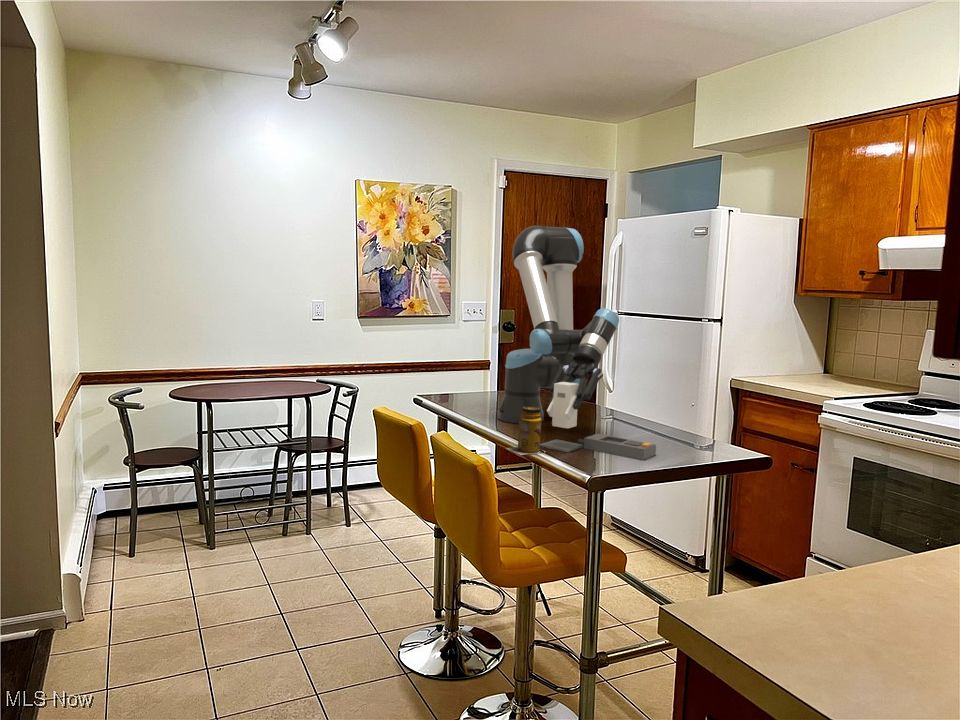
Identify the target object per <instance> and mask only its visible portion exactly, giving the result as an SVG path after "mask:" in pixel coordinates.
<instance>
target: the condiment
mask: <svg viewBox="0 0 960 720" xmlns="http://www.w3.org/2000/svg"><path fill="white" fill-rule="evenodd" d="M541 433H542V422H541V418H540V408H537V407H530V406H528V407H522V409H521V417H520V418H519V424H518V435H517V436H518V438H517V439H518V440H517V446H515V447H506V448H505V449H506V450H508V451H509V452H512V453H514V454H517V455H520V456H524V455H525V456H526V455H532V454H533V455H534V454H539V453H538V452H539V450H541V449H540V448H541V447H540V444H541ZM543 451H544V453H546V451H545V450H543Z"/></svg>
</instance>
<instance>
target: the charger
mask: <svg viewBox="0 0 960 720" xmlns="http://www.w3.org/2000/svg"><path fill="white" fill-rule="evenodd" d="M578 387H579V384H576V383H569V382H559V383H554V397H553V417H551V418H552V421H551V424H552V425H551V426H552V427H556V428H557V427H558V428H562V429H571V428H574V427H577V424H578V422H577V421H578V409H575V411H574V413H573V415H572V417H571V419H570V420H568V419H567V417H566V415H565V412H566V410H567V408H568V406H569V404H570V402H571V400H572V398H573V396H574V395H575V396H577V394H576V393H577V392H578Z"/></svg>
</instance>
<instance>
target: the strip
mask: <svg viewBox="0 0 960 720" xmlns="http://www.w3.org/2000/svg"><path fill="white" fill-rule="evenodd" d="M576 443H577V444H582V445H583V449H586V450H591V451H597V452H601V453H606V454H611V455H614V456H619V457H625V458H631V459H634V460H641V461H646V460H647V459H650V458H651V457H654V456H656V454H657V453H656V451H657V444H655V443H651V442H646V441H640V440H634V439H629V438H624V437H618V436H612V435H608V434H602V433H595V434H592V435H590V436H586V437H584V439H581V438H578V439H577V441H576Z"/></svg>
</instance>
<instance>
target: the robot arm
mask: <svg viewBox="0 0 960 720" xmlns="http://www.w3.org/2000/svg"><path fill="white" fill-rule="evenodd" d="M583 241H584V240H583V238H582V236H581V234H580V233H579V231H578V230H576V229H575V228H570V227H566V226H563V227H561V226H546V225H545V226H543V225H530V226H529V227H526V228H525V229H523V230H522V231H521V232H520V233H519V234H518V236H517V237H515V240H514V243H513V246H512V252H511V253H512V262H513V265H514V267H515V268H516V269H517V270H518V272H519V276H520V280H521V284H522V288H523V291H524V295H525V299H526V303H527V306H528V311H529V314H530V317H531V322H532V325H533V328H534V329H533V330H532V331H531V332H530V334H529V348H521V349H520V348H519V349H515V350H511V351H510V352H508V353H507V355H506V358H505V359H506V361H505V364H504V367H505V377H504V395H503V399H502V401H501V404H500V406H499V408H498V409H499V410H498V413H497V419H498V420H499V419H500V421H503V422H504V423H512V424H518V425H519V418H520V417H521V409H522V407H528V406H530V407H537V408H540V418H541V423H542V421H543V422H544V421H545V420H544V414H545V413H544V410H543V406H542V402H541V398H540V397H541V396H540V391H541V389H548V390H549V392H550V394H551V397H550V399H549V405H548V407H547V409H546V412H547V414H548V416H549V417H551V418H553V397H554V383H559V382H569V383H576V384H579V387H578V392H577V393H576V394H577V396H575V395H574V396H573V398H572V400H571V402H570V404H569V406H568V408H567V410H566V412H565V415H566V417H567V419H568V420H570V419H571V417H572V415H573V413H574V411H575V409H577V410H578V409H579V407H580V406H581V404H582V402H583V401H585V400H586V402H587V401H590V400H591V398H592V396H593V394H594V391H595V390H596V387H597V385H598V383H599V381H600V380H601V379H602V377H604V374H603V371H602V369H601V367H599V364H600V362H601V360H602V359H603V356H604V354H605V353H606V352H605V351H606V350H607V348H608V346H609V344H610V342H611V340H612V338H613V335H614V334H615V332H616V330H617V329H618V324H619V322H620V318H619V316H618V314H617V313H616V312H615V311H613V310H612V309H609V308H600V309H598V310H597V311H596V312H595V314H594V315H593V317H592V320H590V322H589V323H588V324H587V325H586V326H585V327H584V328H583V329H574V308H573V306H574V304H573V301H574V299H573V297H574V293H573V290H574V289H573V286H574V285H573V272H574V270H575V269H576V268H577V266H578V263H580V262H581V260H582V259H583V254H584V247H585V246H584V242H583ZM544 271H545V272H546V275H545V273H544ZM598 367H599V368H598ZM589 377H590V379H589Z"/></svg>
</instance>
